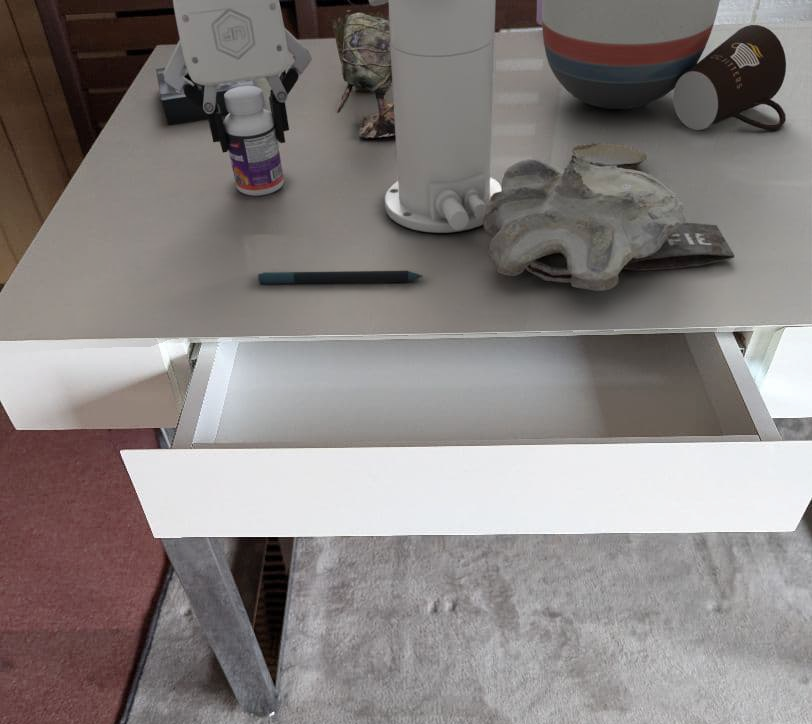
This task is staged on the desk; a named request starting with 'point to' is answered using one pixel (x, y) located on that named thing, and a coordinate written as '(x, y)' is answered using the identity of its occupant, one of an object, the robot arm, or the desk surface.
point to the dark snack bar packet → (663, 253)
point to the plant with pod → (369, 69)
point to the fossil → (579, 218)
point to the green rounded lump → (340, 36)
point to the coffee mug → (733, 80)
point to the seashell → (610, 155)
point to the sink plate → (185, 109)
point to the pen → (337, 277)
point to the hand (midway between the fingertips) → (252, 141)
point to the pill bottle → (252, 142)
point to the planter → (624, 46)
